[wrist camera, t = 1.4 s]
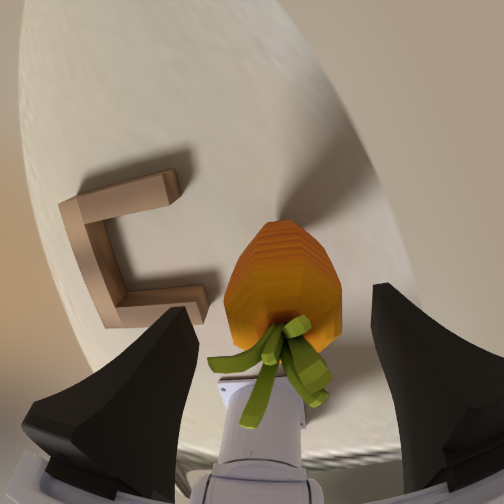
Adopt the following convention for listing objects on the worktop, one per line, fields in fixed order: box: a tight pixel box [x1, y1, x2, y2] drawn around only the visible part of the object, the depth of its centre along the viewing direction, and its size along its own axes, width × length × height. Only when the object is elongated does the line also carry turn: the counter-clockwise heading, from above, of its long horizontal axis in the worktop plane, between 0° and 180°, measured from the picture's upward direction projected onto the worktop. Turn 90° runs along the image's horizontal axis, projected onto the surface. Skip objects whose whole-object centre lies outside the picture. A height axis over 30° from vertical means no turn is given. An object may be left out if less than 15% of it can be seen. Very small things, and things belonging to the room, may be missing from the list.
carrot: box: [207, 220, 342, 429], centre depth 14 cm, size 5×5×15 cm
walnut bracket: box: [58, 169, 210, 329], centre depth 21 cm, size 11×9×2 cm
